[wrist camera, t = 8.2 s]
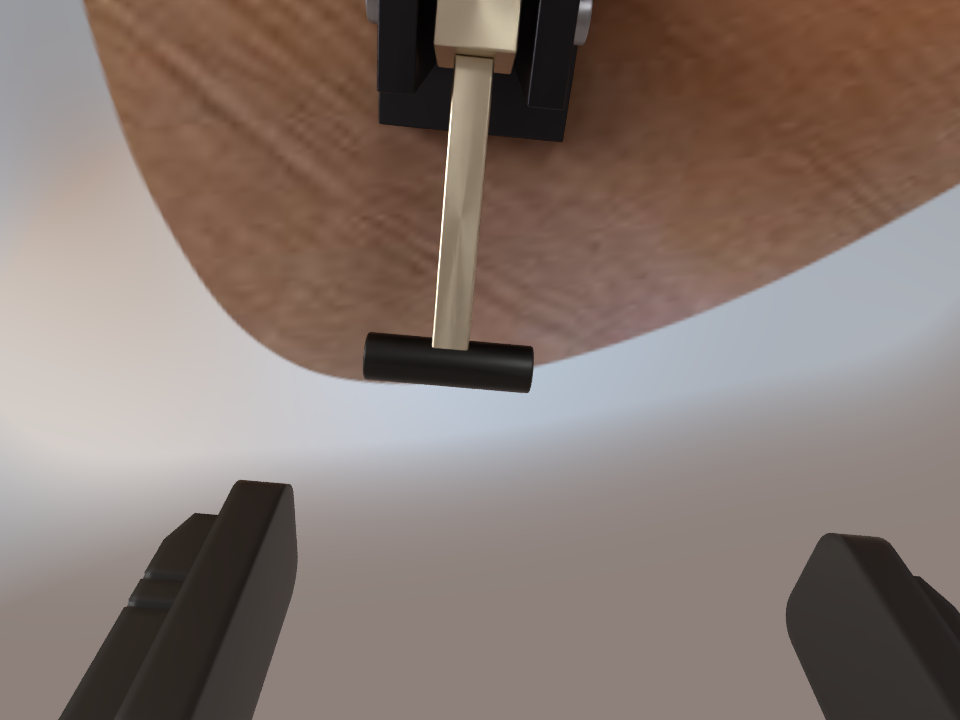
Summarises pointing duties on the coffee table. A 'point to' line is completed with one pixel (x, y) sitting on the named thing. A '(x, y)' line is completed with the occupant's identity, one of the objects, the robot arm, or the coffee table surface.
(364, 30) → the coffee table surface
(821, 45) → the coffee table surface
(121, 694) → the robot arm
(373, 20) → the bracket
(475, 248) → the lever
